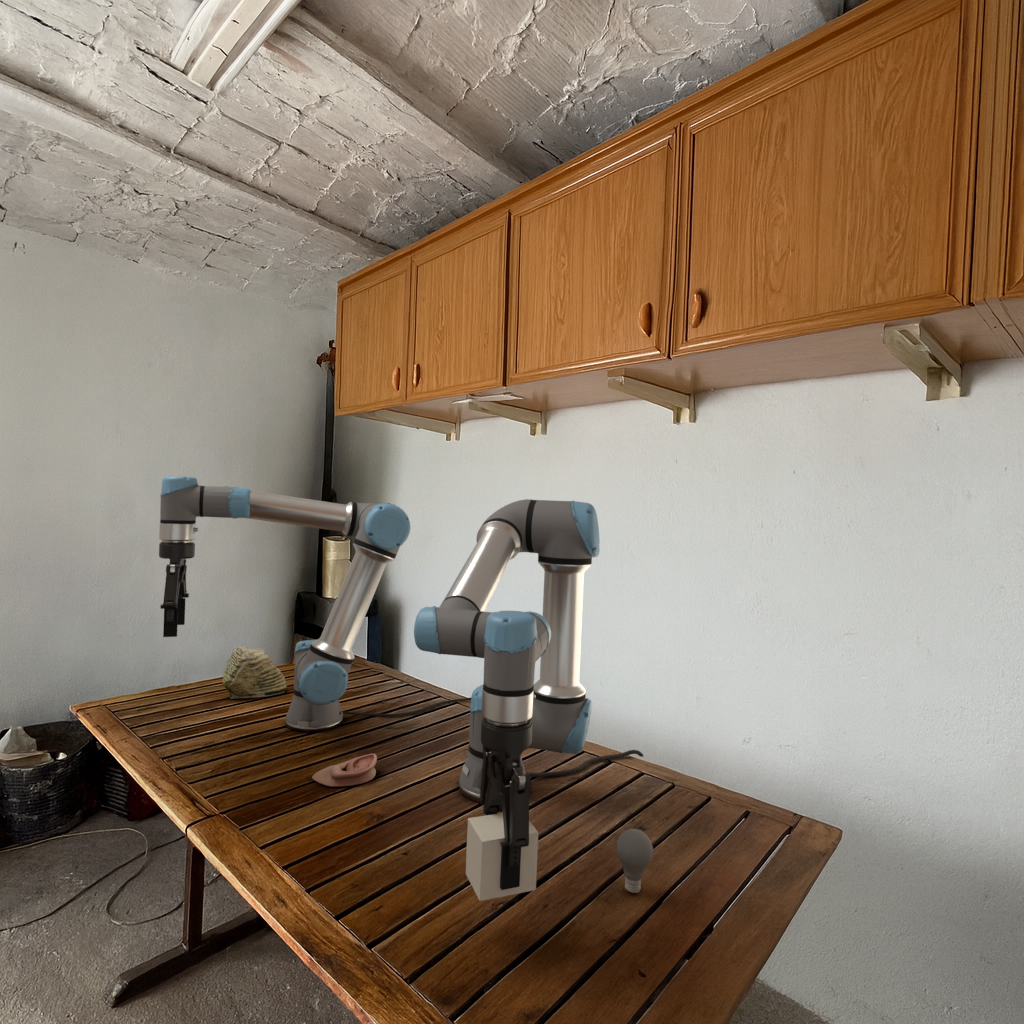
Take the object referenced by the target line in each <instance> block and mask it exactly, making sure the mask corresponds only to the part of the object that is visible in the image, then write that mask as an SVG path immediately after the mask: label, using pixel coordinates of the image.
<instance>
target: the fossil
mask: <svg viewBox="0 0 1024 1024" xmlns="http://www.w3.org/2000/svg"><path fill="white" fill-rule="evenodd" d="M222 676H223V677H222V685H223V687H224V688H225V690H226V691H228V693H229V698H230V699H250V698H264V697H271V696H275V695H281V694H284V693H285V691H286V689H287V687H288V686H287V680H286V678H285V676H284V674H283V673H282V672H281V669H279V668H278V667H277V665H276V663H275V662H274V660H273V659H272V658H271V657H270V656H269V655H268V654H267V653H266V652H265V650H264V649H263V648H260V647H258V648H251V647H247V646H246V647H245V646H238V647H237V648H236V649H235V650H233V651H232V653H231V656H230V657H229V659H228V660H227V663H226V666H225V668H224V671H223V675H222Z"/></svg>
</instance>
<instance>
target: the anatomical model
mask: <svg viewBox="0 0 1024 1024" xmlns="http://www.w3.org/2000/svg"><path fill="white" fill-rule="evenodd" d="M377 761H378V756H377V754H376V753H368V754H363V755H360V756H357V757H354V758H351V759H348V760H346V761H343V762H340V763H337V764H332V765H329V766H326V767H324V768H322V769H320V770H318V771H317V772H315V773H314V774H313V775H312V776H311V779H312V780H313V781H315V782H317V783H318V784H321V785H323V786H327V787H333V788H334V787H347V786H356V785H361V784H364V783H367V782H369V781H372V780H373V779H374V778H375V776H376V773H377V770H376V768H375V767H376V764H377Z"/></svg>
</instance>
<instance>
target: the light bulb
mask: <svg viewBox="0 0 1024 1024" xmlns="http://www.w3.org/2000/svg"><path fill="white" fill-rule="evenodd" d="M615 849H616V854H617V857H618V859H619V861H620V863H621V865H622V867H623V873H624V874H623V875H624V876H625V878H624V888H625V890H627V891H628V892H630V893H634V894H635V893H639V892H640V891H641V889H642V887H641V886H642V879H643V877H644V875H645V871H646V868H647V867H648V866H649V864H650V863H651V861H652V859H653V855H654V847H653V843H652V841H651V838H649V836H648V835H647V834H646V833H645V832H643V831H642V830H641V829H636V828H629V829H627V830H625V831H623V832H622V833H621V834H620V835H619V837H618V839H617V841H616V847H615Z"/></svg>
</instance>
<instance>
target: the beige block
mask: <svg viewBox="0 0 1024 1024" xmlns="http://www.w3.org/2000/svg"><path fill="white" fill-rule="evenodd" d="M466 828H467V831H466V855H465V856H466V857H465V876H466V878H467V880H468V881H469V883H470V886H471V887H472V889H473V891H474V893H475V896H476V897H477V899H478V900H479V902H482V901H488V900H493V899H498V898H502V897H508V896H512V895H517V894H522V893H523V894H524V893H527V892H532V891H536V890H537V875H538V873H537V871H538V853H539V831H538V830H537V829H536V827H535V826H534V825H533V824H532V823H531V821H530V820H529V846H526V847H521V862H520V885H519V887H515V888H510V889H505V890H501V888H500V874H501V851H502V847H501V846H500V842H503V841H505V837H504V823H503V812H498V813H497V814H493V815H486V814H485V815H479V816H472V817H468V818H467V827H466Z"/></svg>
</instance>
